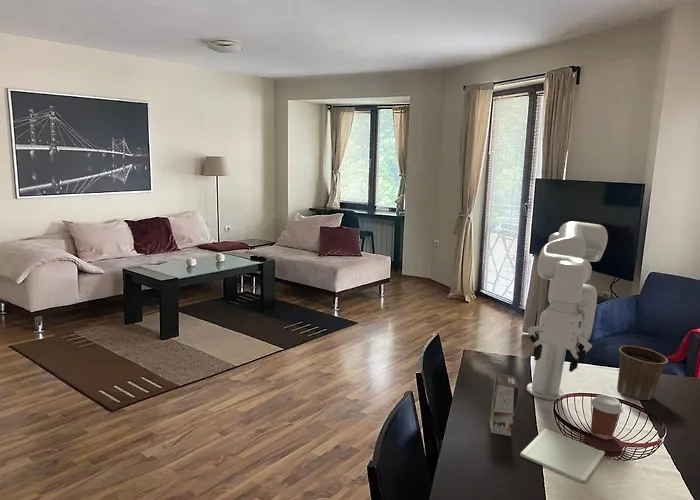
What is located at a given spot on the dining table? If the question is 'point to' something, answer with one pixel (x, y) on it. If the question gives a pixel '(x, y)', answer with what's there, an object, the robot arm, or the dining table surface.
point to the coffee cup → (605, 414)
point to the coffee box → (503, 404)
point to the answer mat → (563, 455)
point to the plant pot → (639, 372)
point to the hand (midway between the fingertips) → (554, 364)
